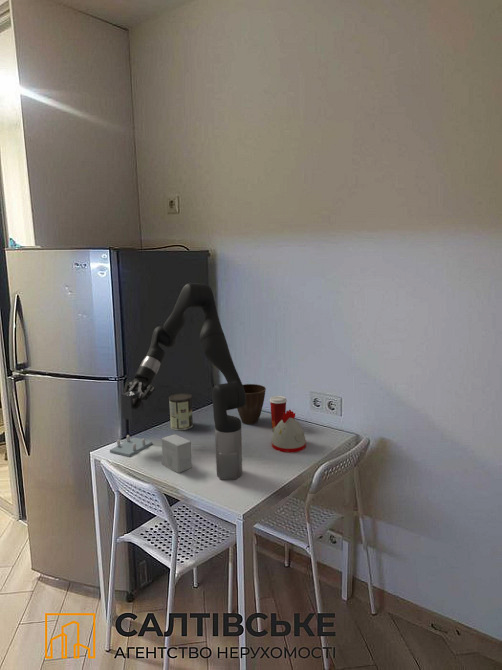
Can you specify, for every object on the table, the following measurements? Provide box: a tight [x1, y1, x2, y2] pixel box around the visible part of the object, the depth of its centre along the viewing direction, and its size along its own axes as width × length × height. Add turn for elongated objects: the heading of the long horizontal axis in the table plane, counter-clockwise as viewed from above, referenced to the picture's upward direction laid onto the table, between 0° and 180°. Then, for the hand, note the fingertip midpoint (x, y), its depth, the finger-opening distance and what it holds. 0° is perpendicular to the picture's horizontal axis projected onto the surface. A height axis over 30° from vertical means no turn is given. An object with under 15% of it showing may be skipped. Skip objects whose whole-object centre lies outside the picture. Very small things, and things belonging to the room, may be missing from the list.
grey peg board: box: [109, 434, 153, 458], centre depth 190 cm, size 14×10×4 cm
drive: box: [121, 390, 145, 421], centre depth 186 cm, size 7×5×10 cm
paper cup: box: [269, 395, 288, 429], centre depth 208 cm, size 8×8×14 cm
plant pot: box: [236, 383, 267, 425], centre depth 216 cm, size 15×15×16 cm
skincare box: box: [161, 433, 193, 474], centre depth 173 cm, size 10×6×10 cm, turn 44°
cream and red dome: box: [271, 409, 307, 453], centre depth 189 cm, size 14×14×15 cm
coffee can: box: [168, 392, 194, 431], centre depth 212 cm, size 10×10×14 cm
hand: (129, 406), depth 185 cm, fingers closed on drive, 4 cm apart
